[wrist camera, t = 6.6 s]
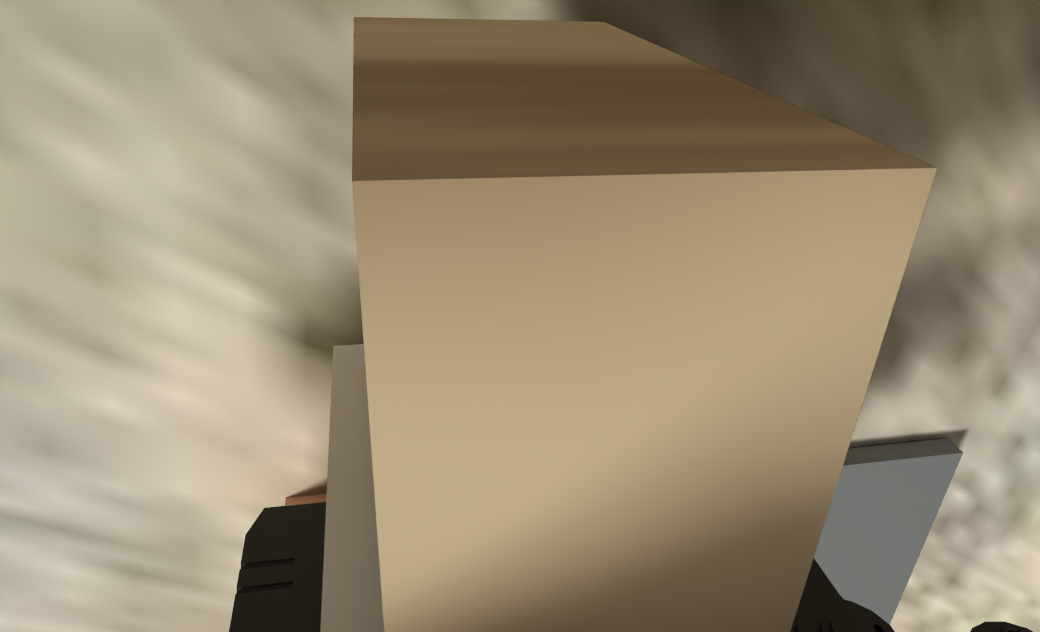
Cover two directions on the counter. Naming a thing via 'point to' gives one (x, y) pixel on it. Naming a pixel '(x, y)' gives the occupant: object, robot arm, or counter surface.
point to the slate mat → (883, 519)
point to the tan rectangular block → (607, 326)
